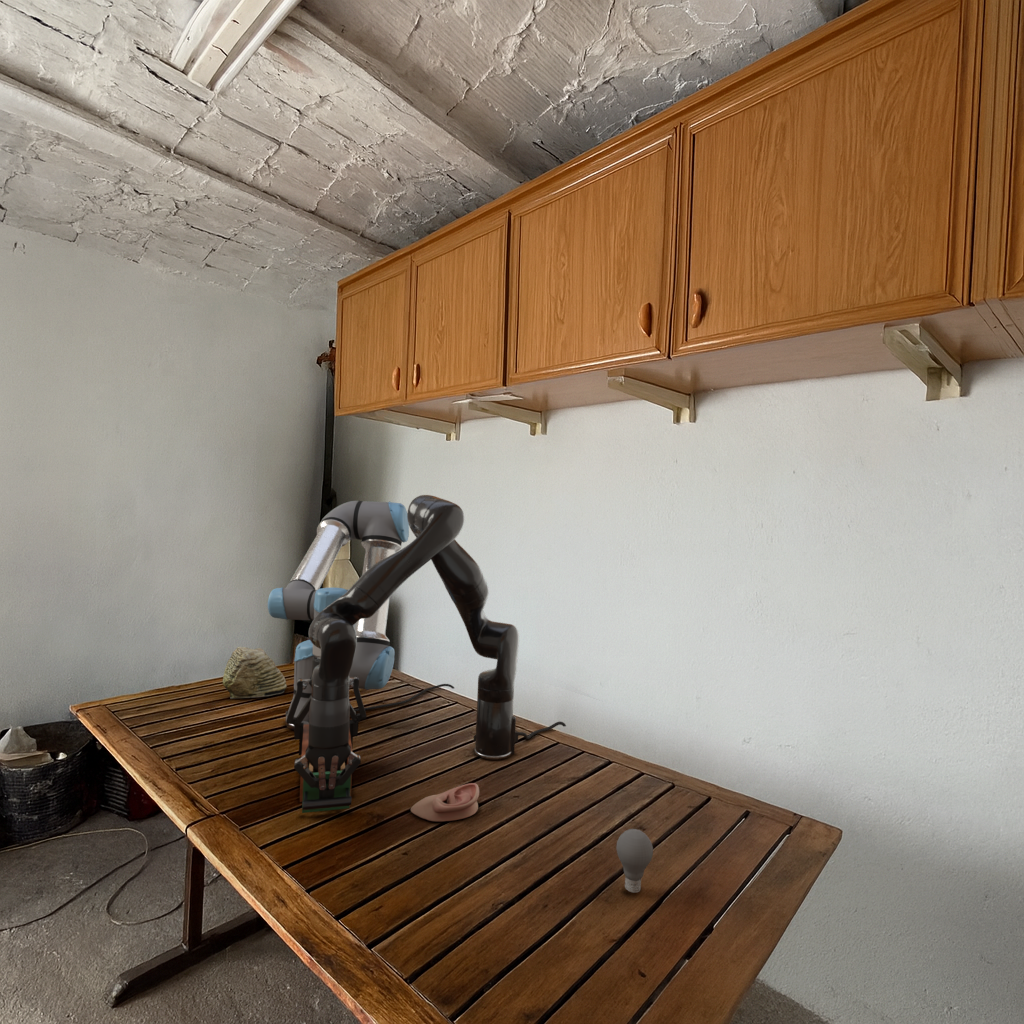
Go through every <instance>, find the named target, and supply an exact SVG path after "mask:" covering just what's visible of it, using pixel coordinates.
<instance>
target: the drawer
mask: <svg viewBox="0 0 1024 1024" xmlns="http://www.w3.org/2000/svg"><path fill="white" fill-rule="evenodd" d="M344 768H345V762H344V763H343V765H342V766H341V767H340V768H339V769H338V770H337V775H336V777H337V776H338V775H339V774H340V773H341V772H342V770H343V769H344ZM309 770H310V771H311V772H312V773H313V774H314V776H315V777H316V778H319V771H317V770H315V769H314V767H313V766H312V765H311V764H310V762H309ZM325 773H326V785H328V780H329V771H326V772H325ZM350 787H351V788H352V782H351V776H350V777H349V778H348V780H347V781H346V782H345V783H344V784H343V785H338V786H336V787H335V790H334V798H324V799H319V789H318V788H315V787H314V788H311V787H310V786H309V785H308V784H307V782H306V781H305V780H304V779H303V801H302V802H301V803H302V806H301V813H302V814H306V813H307V814H308V813H317V812H327V811H337V810H347V809H350V808H351V806H352V795H351V796H350ZM329 807H330V808H329Z"/></svg>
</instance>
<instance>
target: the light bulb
mask: <svg viewBox="0 0 1024 1024" xmlns="http://www.w3.org/2000/svg"><path fill="white" fill-rule="evenodd" d="M615 849H616V854H617V857H618V859H619V861H620V863H621V865H622V867H623V873H624V874H623V875H624V876H625V878H624V888H625V890H627V891H628V892H630V893H634V894H635V893H639V892H640V891H641V889H642V887H641V886H642V879H643V877H644V875H645V871H646V868H647V867H648V866H649V864H650V863H651V861H652V859H653V855H654V847H653V843H652V841H651V838H649V836H648V835H647V834H646V833H645V832H643V831H642V830H641V829H636V828H629V829H627V830H625V831H623V832H622V833H621V834H620V835H619V837H618V839H617V841H616V847H615Z"/></svg>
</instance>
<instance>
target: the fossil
mask: <svg viewBox="0 0 1024 1024" xmlns="http://www.w3.org/2000/svg"><path fill="white" fill-rule="evenodd" d="M222 676H223V677H222V685H223V687H224V688H225V690H226V691H228V693H229V698H230V699H250V698H264V697H271V696H275V695H281V694H284V693H285V691H286V689H287V687H288V686H287V680H286V678H285V676H284V674H283V673H282V672H281V669H279V668H278V667H277V665H276V663H275V662H274V660H273V659H272V658H271V657H270V656H269V655H268V654H267V653H266V652H265V650H264V649H263V648H260V647H258V648H251V647H247V646H246V647H245V646H238V647H237V648H236V649H235V650H233V651H232V653H231V656H230V657H229V659H228V660H227V663H226V666H225V668H224V671H223V675H222Z"/></svg>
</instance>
